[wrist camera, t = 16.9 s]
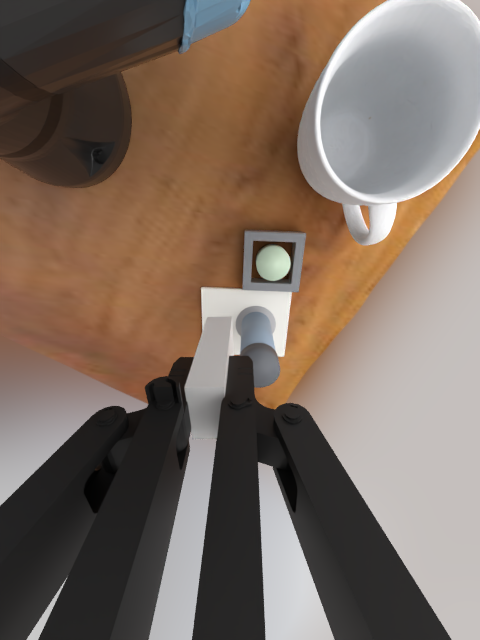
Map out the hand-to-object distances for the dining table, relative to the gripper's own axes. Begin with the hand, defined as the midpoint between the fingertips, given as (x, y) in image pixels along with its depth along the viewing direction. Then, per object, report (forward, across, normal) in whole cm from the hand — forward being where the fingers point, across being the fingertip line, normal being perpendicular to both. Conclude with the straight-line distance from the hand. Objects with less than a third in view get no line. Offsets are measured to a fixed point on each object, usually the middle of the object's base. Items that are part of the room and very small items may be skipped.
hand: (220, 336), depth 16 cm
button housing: (+19, +5, +1) cm, 20 cm away
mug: (+20, +12, +11) cm, 26 cm away
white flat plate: (+19, +1, -8) cm, 21 cm away
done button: (+19, +5, +1) cm, 20 cm away
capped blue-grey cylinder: (+19, +3, -8) cm, 20 cm away
